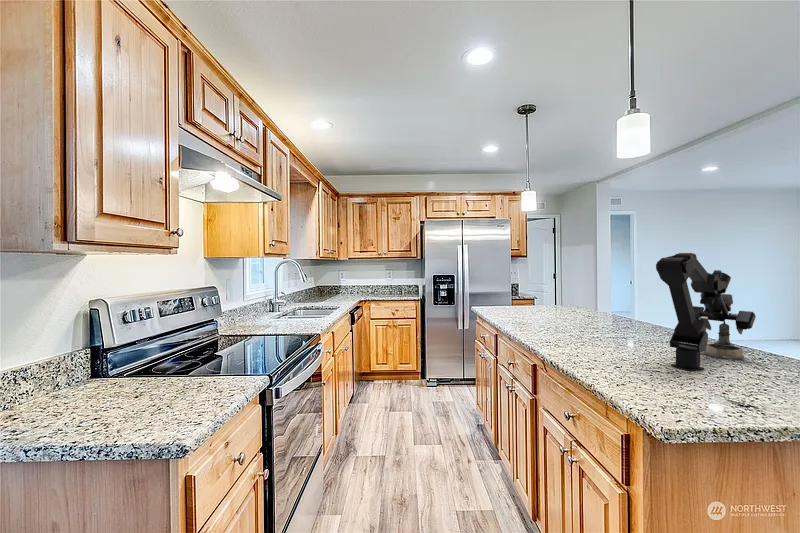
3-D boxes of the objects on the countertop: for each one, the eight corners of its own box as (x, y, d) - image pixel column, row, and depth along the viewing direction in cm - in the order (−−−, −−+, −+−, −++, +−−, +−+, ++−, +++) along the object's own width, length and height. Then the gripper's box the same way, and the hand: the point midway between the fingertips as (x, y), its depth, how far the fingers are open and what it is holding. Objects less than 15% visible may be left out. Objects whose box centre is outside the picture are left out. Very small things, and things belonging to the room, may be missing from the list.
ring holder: (728, 360, 137) (728, 351, 137) (695, 352, 148) (695, 344, 148) (752, 358, 140) (753, 349, 140) (719, 350, 151) (719, 342, 151)
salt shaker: (720, 351, 147) (721, 319, 147) (738, 354, 142) (738, 321, 141) (709, 352, 146) (710, 320, 145) (727, 356, 140) (727, 322, 140)
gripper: (754, 288, 133) (764, 318, 139) (690, 285, 149) (702, 311, 155) (745, 313, 129) (756, 342, 135) (680, 307, 145) (693, 333, 151)
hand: (725, 331), depth 144 cm, fingers open, 9 cm apart
